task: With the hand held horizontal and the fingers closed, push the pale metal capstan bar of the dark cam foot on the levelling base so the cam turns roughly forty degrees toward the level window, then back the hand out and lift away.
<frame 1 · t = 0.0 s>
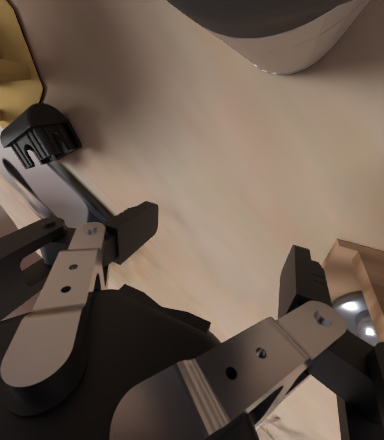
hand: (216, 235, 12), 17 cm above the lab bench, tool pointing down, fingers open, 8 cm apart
end cap: (59, 134, 37), on the lab bench
dna model: (267, 414, 56), on the lab bench
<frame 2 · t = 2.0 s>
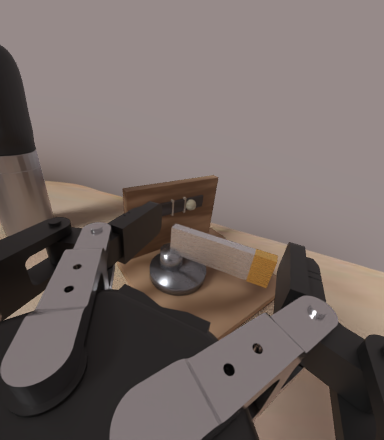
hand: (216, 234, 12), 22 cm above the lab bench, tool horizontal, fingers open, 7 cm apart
cam foot: (206, 261, 34), point 7 cm above the lab bench, hinge at 0.0°
levelling base: (200, 277, 40), on the lab bench
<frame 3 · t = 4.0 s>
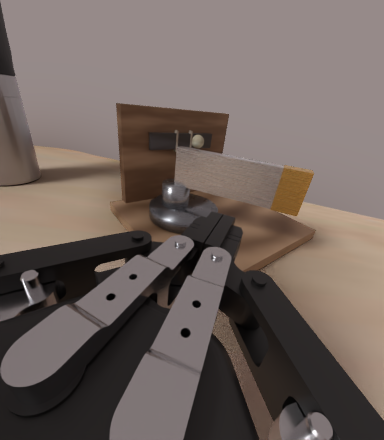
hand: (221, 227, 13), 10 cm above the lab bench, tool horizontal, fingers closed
cam foot: (218, 192, 27), point 7 cm above the lab bench, hinge at 0.0°
levelling base: (209, 224, 33), on the lab bench
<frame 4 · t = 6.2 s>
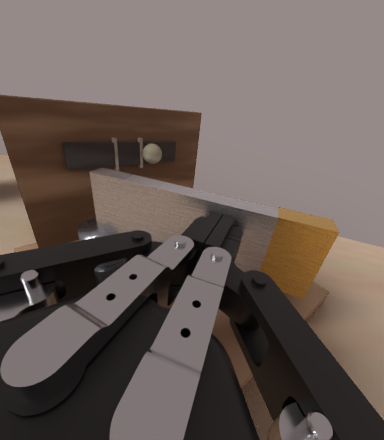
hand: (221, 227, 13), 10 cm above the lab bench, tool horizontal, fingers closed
cam foot: (169, 246, 16), point 7 cm above the lab bench, hinge at 2.1°, touching gripper
levelling base: (168, 280, 22), on the lab bench
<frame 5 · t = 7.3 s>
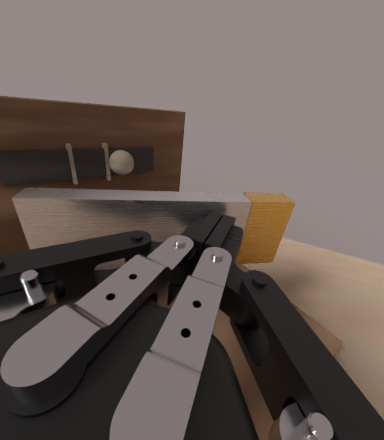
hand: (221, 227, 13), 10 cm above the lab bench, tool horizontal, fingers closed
cam foot: (143, 258, 15), point 7 cm above the lab bench, hinge at 33.2°, touching gripper
levelling base: (138, 323, 17), on the lab bench
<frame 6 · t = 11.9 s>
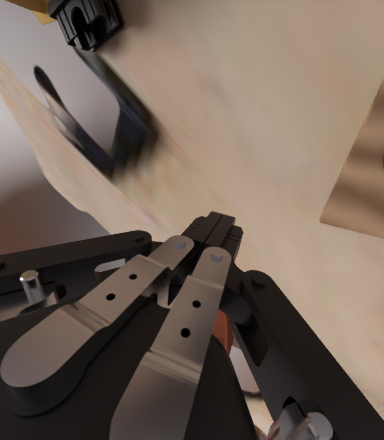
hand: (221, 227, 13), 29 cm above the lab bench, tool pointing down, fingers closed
fossil rock: (250, 438, 80), on the lab bench
end cap: (101, 18, 38), on the lab bench
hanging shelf: (191, 314, 63), on the lab bench
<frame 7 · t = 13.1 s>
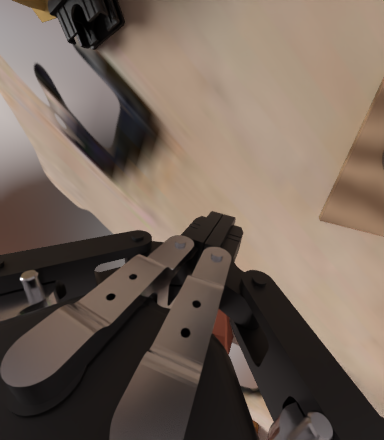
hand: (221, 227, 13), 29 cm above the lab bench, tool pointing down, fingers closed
fossil rock: (249, 433, 81), on the lab bench
end cap: (101, 16, 38), on the lab bench
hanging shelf: (191, 313, 64), on the lab bench
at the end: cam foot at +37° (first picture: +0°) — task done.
